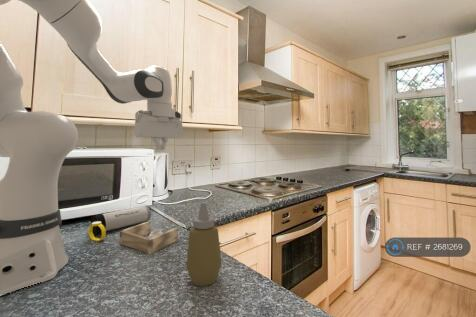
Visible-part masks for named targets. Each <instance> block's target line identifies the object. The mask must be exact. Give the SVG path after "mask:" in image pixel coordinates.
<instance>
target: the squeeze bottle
mask: <svg viewBox="0 0 476 317" xmlns="http://www.w3.org/2000/svg"><path fill="white" fill-rule="evenodd" d="M219 237H220V236H219V229H218V228H217V226H215V219H214V217H213V216H210V214H209V210H208V206H207V202H200V205H199V211H198V216H197V217H194V218H193V226H192V227H191V228H190V229H189V232H188V241H187V242H188V243H187V256H186V269H187V270H186V271H187V274H188V275H189V278H190V281H191V282H192V284H194V285H196V286H201V287H203V286H204V287H206V286H209V285H212V284H214V283H215V282H216V281H217V278H218V277H219V276H218V275H219V272H220V269H221V266H222V256H221V254H222V253H221V246H220V238H219Z"/></svg>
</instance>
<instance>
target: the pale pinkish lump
mask: <svg viewBox="0 0 476 317" xmlns="http://www.w3.org/2000/svg"><path fill="white" fill-rule="evenodd" d="M162 233H163V232H162V230H161V229H154V230H151V233H149V235H148V236H147V238H153V237H155V236H157V235H160V234H162Z"/></svg>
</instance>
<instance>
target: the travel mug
mask: <svg viewBox="0 0 476 317" xmlns="http://www.w3.org/2000/svg"><path fill="white" fill-rule="evenodd" d="M151 215H152V212H151V209H150V207H149V206H148V205H141V206H136V207H131V208H126V209H120V210H115V211H110V212H105V213H101V214H96V215H93V216H92V218H91V222H90V225H92V223H93V222H97V221H101V223H102V225H103V226H104V227H105V230H106V232H108V231H113V230H116V229H121V228H124V227H129V226H134V225H136V224H137V225H139V224H142V223H145V222H147V221H150V220H151V217H152V216H151ZM92 232H93V235H94V236H96V235H97V234H100V233H102V231H101V229H100V227H98V226H93V229H92Z"/></svg>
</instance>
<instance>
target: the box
mask: <svg viewBox="0 0 476 317" xmlns="http://www.w3.org/2000/svg"><path fill="white" fill-rule="evenodd" d="M151 226H152V224H151V221H150V220H149V221H146V222H142V223H138V224H137V225H136V224H135V225H132V226H130V227H128V228H125V229H122V230H119V244H121V245H122V246H126V247H128V248H132V249H135V250H137V251H140V252H142V253H146V254H148V255H151V254H153V253H155V252H157V251H159V250H162V249H163V248H165V247H167V246H169V245H172V244H173V243H175V242H177V241H179V234H178V233H179V231H178V230H179V229H178V227H174V228H172V229H169V230H167V231H165V232H162V234H160V235H157V236H155V237H153V238H148V236H147V237H146V235H148V234H149V235H150V234H151V231H152V229H151V228H152V227H151Z"/></svg>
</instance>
